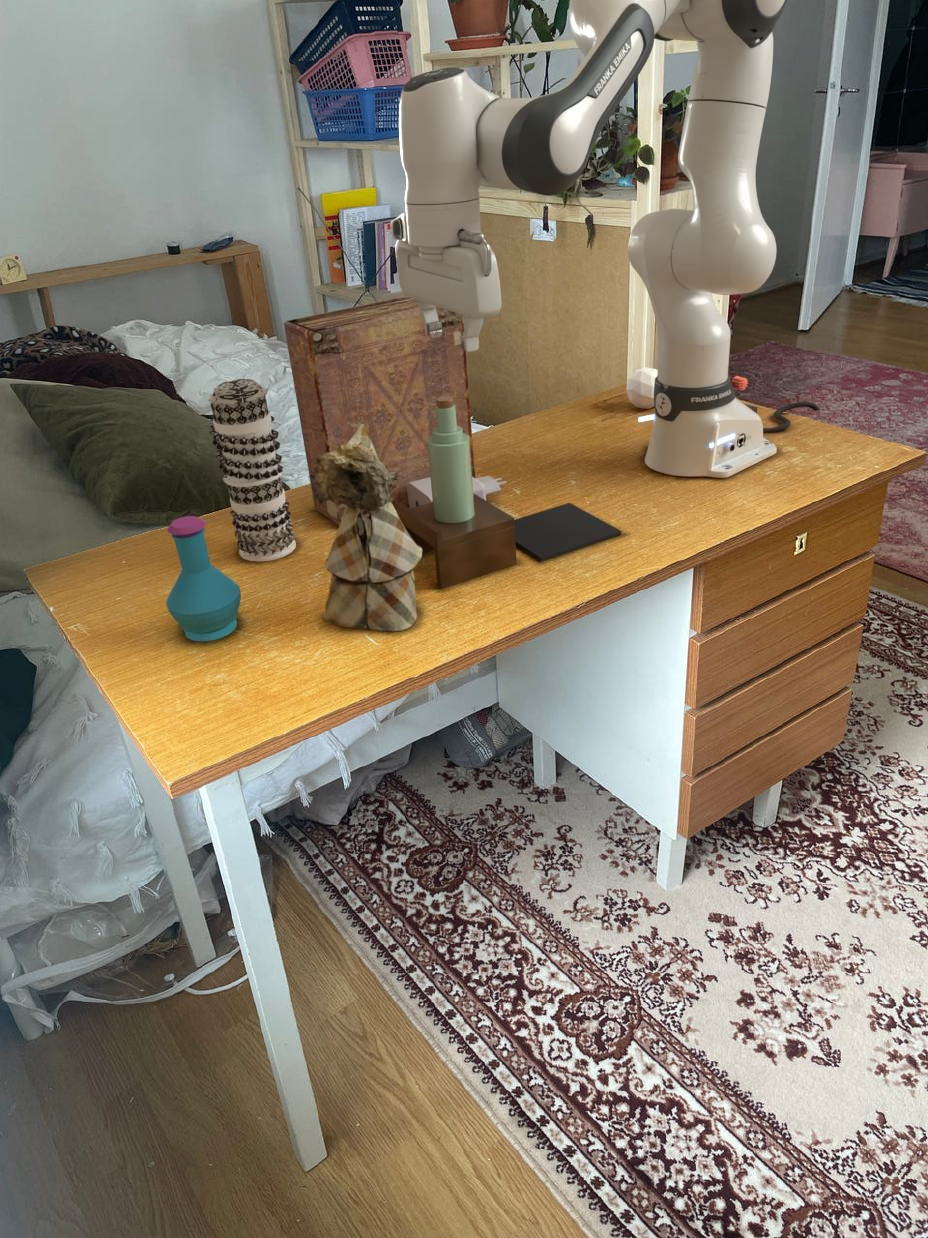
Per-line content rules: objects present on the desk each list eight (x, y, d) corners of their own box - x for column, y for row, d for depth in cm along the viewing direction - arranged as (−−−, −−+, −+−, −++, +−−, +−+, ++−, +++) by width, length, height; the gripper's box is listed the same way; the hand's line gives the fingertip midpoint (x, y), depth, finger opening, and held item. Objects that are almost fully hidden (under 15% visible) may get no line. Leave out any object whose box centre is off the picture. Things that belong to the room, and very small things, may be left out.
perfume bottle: (261, 623, 121) (239, 517, 114) (201, 654, 116) (174, 545, 108) (219, 603, 127) (195, 500, 119) (160, 632, 121) (131, 526, 114)
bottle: (462, 503, 133) (453, 388, 124) (482, 516, 128) (474, 398, 120) (427, 513, 130) (415, 397, 122) (446, 527, 126) (435, 408, 118)
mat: (569, 506, 146) (569, 502, 146) (621, 534, 136) (621, 530, 136) (492, 530, 141) (492, 526, 140) (540, 561, 131) (540, 557, 130)
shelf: (473, 534, 140) (469, 481, 136) (516, 563, 131) (514, 508, 126) (401, 556, 135) (395, 502, 131) (441, 589, 126) (435, 532, 122)
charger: (519, 503, 148) (434, 528, 143) (490, 485, 156) (408, 508, 150) (518, 475, 146) (431, 499, 140) (488, 458, 153) (405, 480, 148)
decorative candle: (232, 543, 143) (197, 380, 131) (292, 530, 146) (263, 370, 133) (240, 567, 136) (203, 398, 123) (303, 554, 138) (274, 386, 125)
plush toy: (467, 606, 119) (415, 413, 110) (384, 653, 112) (321, 451, 103) (401, 594, 130) (349, 417, 121) (321, 636, 122) (259, 451, 113)
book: (446, 469, 163) (431, 290, 148) (476, 484, 156) (463, 298, 141) (314, 510, 152) (283, 320, 137) (340, 528, 145) (310, 331, 130)
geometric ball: (653, 422, 184) (661, 398, 177) (616, 406, 185) (622, 381, 178) (668, 394, 187) (677, 369, 179) (631, 378, 188) (639, 352, 181)
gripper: (512, 230, 106) (516, 354, 113) (428, 216, 121) (436, 325, 128) (463, 238, 103) (470, 364, 110) (383, 222, 119) (394, 333, 126)
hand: (451, 343), depth 119 cm, fingers open, 8 cm apart
